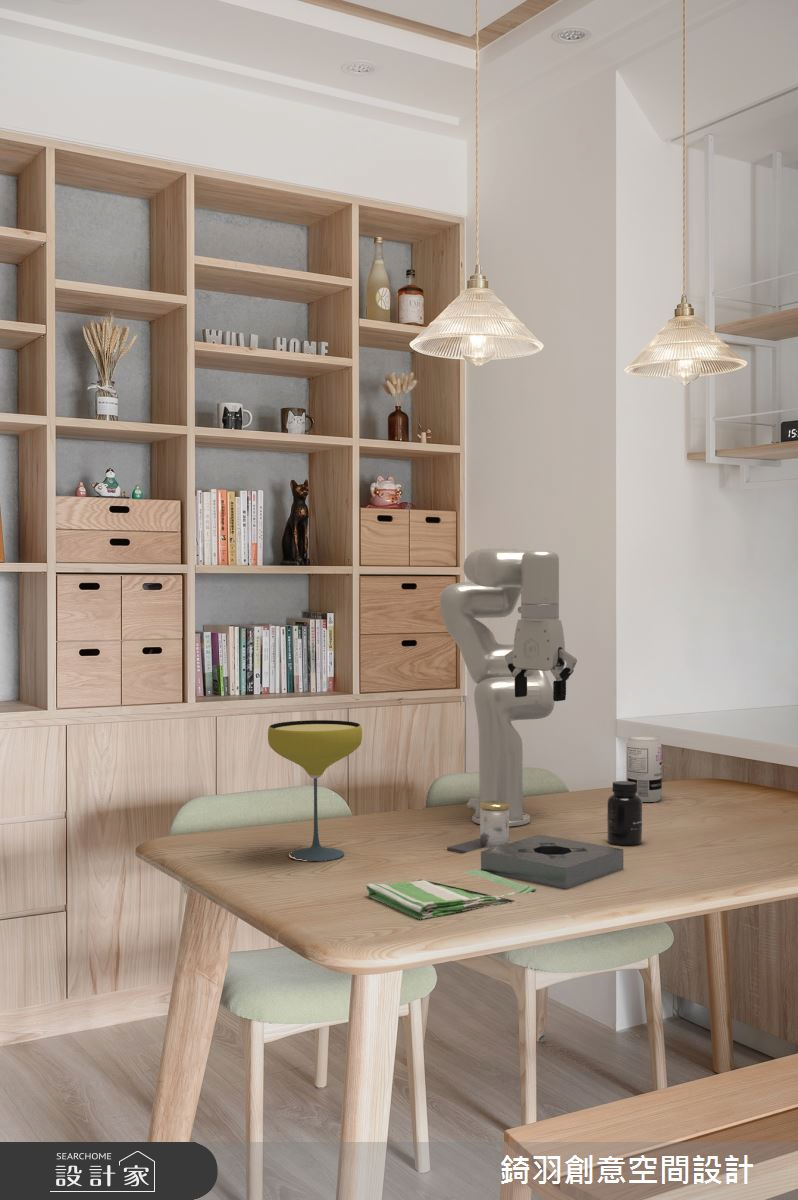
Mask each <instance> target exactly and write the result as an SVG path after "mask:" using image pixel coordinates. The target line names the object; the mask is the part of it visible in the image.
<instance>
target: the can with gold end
mask: <svg viewBox="0 0 798 1200" xmlns="http://www.w3.org/2000/svg"><path fill="white" fill-rule="evenodd" d="M509 808H510V803H508V802H504V801H483V802H480V824H479V826H480V827H479V828H480V830H479V831H480V832H479V833H480V835H479V839H480V847H482V848H481V849H483V848H486V849H487V848H488V849H492V848H495V847H499V846H502V845H506V844H509V843H510V826H509Z"/></svg>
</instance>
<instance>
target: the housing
mask: <svg viewBox="0 0 798 1200" xmlns="http://www.w3.org/2000/svg"><path fill="white" fill-rule="evenodd" d="M480 870H482V871H486V872H489V873H491V874H493V875H497V876H500V877H503V878H509V879H510V878H511V879H515V880H519V881H525V882H529V883H533V884H538V885H544V886H548V887H552V888H553V887H554V888H557V889H563V890H569V889H572V888H575V887H576V886H577V887H578V886H580V885H583V884H585V883H589V882H591V881H594V880H596V879H599V878H603V877H604V876H608V875H611V874H613V873H616V872H619V871H622V870H624V849H623V848H620V847H613V846H608V845H602V844H597V843H596V844H595V843H590V842H587V841H586V842H585V841H579V840H574V839H566V838H561V837H555V836H550V835H543V834H538V835H534V836H531V837H530V836H529V837H526V838H524V839H520V840H517V841H513V842H509V844H506V845H502V846H499V847H495V848H488V849H485V850H482V851H480Z"/></svg>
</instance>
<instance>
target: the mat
mask: <svg viewBox="0 0 798 1200" xmlns="http://www.w3.org/2000/svg"><path fill="white" fill-rule="evenodd" d="M480 849H483V848H482V847H480V838H476V839H473V840H469V841H466V842H461V843H458V844H454V845H451V846H447V847H446V850H447V852H453V853H457V854H466V853H470V852H473V851H477V850H480Z"/></svg>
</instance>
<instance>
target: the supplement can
mask: <svg viewBox="0 0 798 1200" xmlns="http://www.w3.org/2000/svg"><path fill="white" fill-rule="evenodd" d="M625 744H626V745H625V746H626V748H625V749H626V750H625V753H626V757H625V758H626V761H625V762H626V766H625V767H626V769H625V770H626V772H625V773H626V781H630V782H635V783H637V793H636V795H637V796H638V797H639V798H640V799H641V801H642V802H654V803H657V802H656V801H658V802H660V800H661V799H662V798H663V793H662V792H663V791H662V790H663V787H662V786H663V782H662V780H663V774H662V773H663V772H662V770H663V769H662V765H663V764H662V761H663V760H662V754H663V753H662V750H663V749H662V748H663V747H662V743H661V740H660V738H659V737H657V736H651V735H633V736H629V737H628V739H627V741H626V743H625Z"/></svg>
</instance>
